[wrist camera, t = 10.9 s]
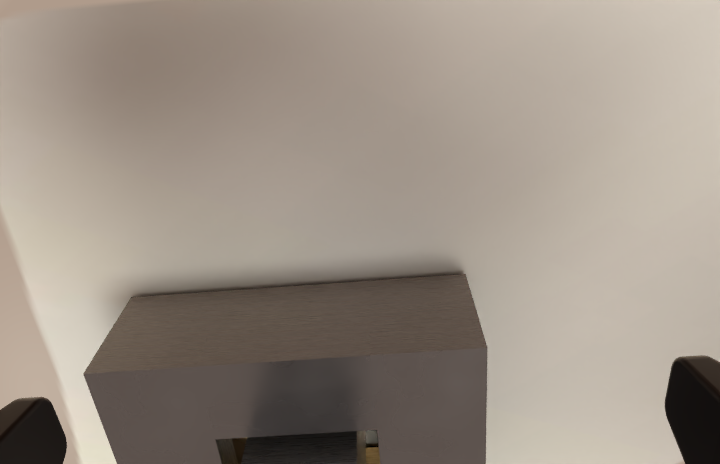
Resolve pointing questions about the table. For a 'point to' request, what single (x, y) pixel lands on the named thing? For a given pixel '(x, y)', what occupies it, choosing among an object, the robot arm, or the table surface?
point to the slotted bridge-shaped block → (296, 371)
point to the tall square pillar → (307, 449)
